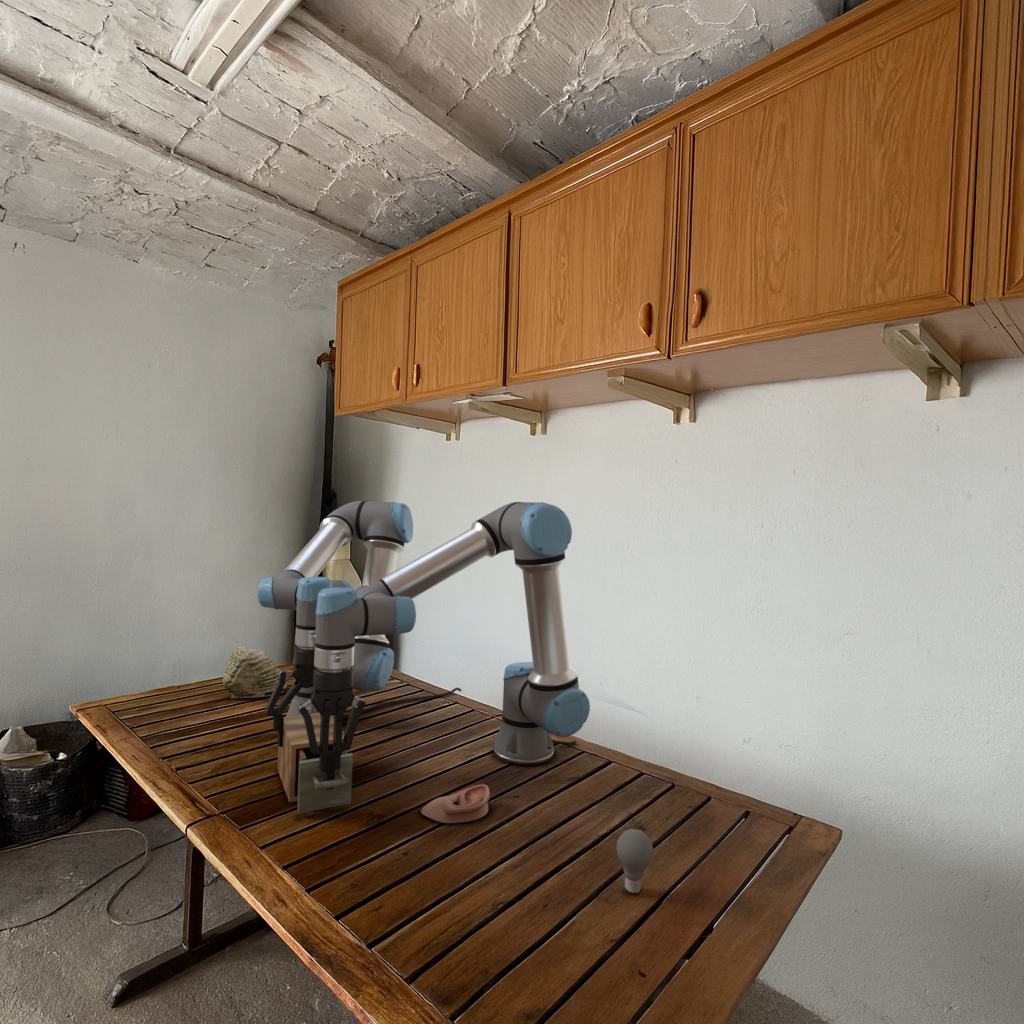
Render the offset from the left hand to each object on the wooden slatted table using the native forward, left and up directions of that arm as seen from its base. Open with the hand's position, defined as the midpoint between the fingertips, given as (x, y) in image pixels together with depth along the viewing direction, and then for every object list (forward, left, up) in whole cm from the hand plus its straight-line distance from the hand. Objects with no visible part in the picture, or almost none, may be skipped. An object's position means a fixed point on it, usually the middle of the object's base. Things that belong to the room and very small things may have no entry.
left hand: (308, 741), depth 144 cm
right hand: (+9, +20, -1) cm, 22 cm away
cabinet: (+1, +3, -8) cm, 8 cm away
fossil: (-21, -60, -8) cm, 64 cm away
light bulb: (-12, +76, -8) cm, 77 cm away
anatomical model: (-11, +36, -8) cm, 39 cm away
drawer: (+6, +13, -7) cm, 16 cm away
